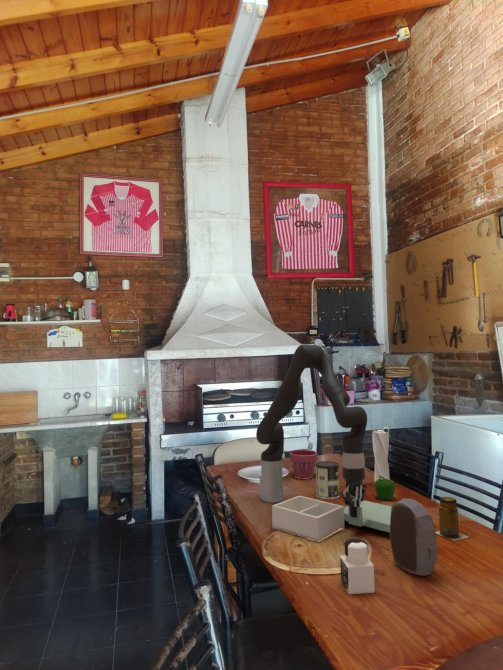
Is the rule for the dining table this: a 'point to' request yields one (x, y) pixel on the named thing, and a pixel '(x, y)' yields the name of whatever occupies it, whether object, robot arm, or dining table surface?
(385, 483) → the bell pepper
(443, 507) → the condiment
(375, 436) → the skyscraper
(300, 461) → the plant pot
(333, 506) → the parts tub
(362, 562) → the medicine bottle
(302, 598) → the dining table surface
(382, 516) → the lid
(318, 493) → the coffee can
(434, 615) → the dining table surface
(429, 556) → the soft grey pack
